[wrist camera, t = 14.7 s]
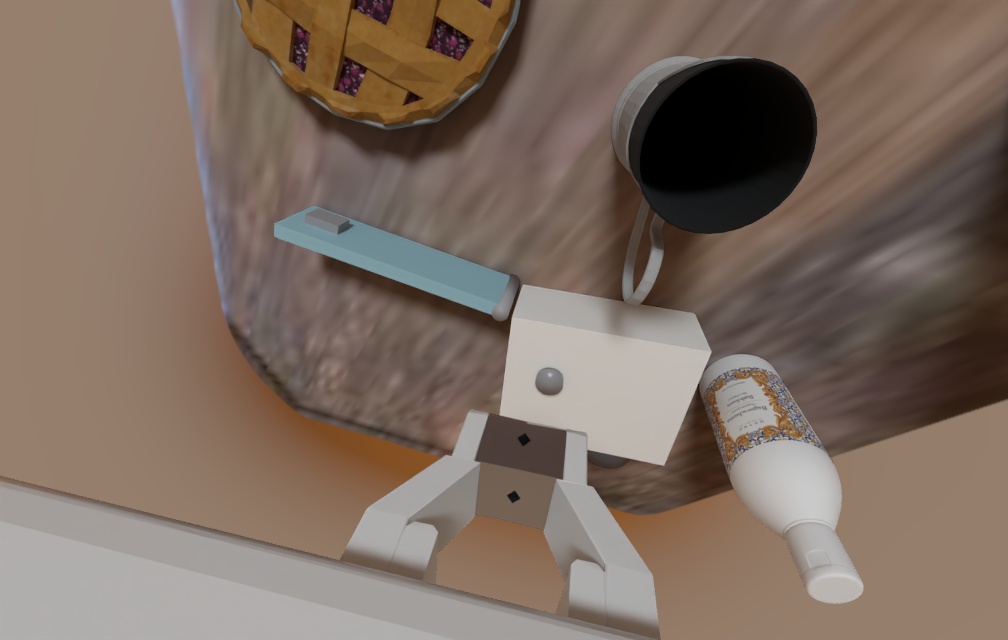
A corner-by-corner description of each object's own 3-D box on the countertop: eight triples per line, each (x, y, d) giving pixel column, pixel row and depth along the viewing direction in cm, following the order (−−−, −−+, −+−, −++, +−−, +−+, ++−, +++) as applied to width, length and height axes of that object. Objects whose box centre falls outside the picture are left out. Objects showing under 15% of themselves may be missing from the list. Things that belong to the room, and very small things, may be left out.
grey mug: (759, 77, 30) (884, 77, 17) (666, 258, 37) (704, 352, 24) (640, 39, 30) (676, 10, 17) (570, 226, 37) (559, 303, 25)
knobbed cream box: (694, 313, 39) (714, 357, 33) (648, 437, 47) (656, 492, 41) (521, 284, 41) (509, 321, 35) (505, 408, 49) (492, 457, 43)
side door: (517, 289, 41) (505, 323, 36) (315, 217, 41) (271, 239, 36) (524, 271, 40) (513, 302, 34) (316, 196, 40) (271, 215, 35)
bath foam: (757, 339, 39) (883, 539, 22) (787, 391, 42) (925, 612, 24) (685, 370, 42) (748, 569, 25) (717, 418, 44) (795, 631, 27)
